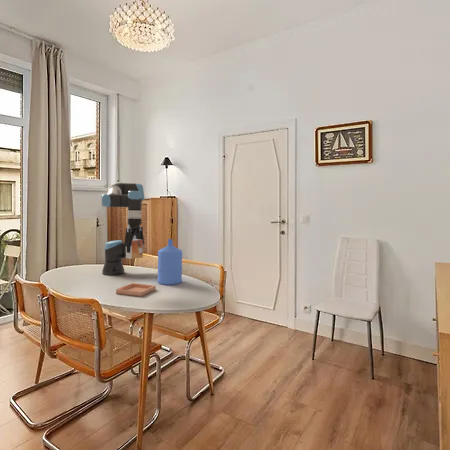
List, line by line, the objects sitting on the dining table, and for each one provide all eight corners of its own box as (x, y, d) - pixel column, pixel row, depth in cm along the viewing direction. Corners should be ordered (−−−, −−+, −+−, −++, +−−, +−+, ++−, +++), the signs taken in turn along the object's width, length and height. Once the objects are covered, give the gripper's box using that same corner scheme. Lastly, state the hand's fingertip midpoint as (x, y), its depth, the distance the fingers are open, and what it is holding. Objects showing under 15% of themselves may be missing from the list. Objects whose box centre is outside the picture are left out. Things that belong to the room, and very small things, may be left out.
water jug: (177, 285, 205) (177, 241, 203) (153, 284, 208) (154, 240, 206) (185, 280, 220) (185, 238, 218) (163, 278, 223) (163, 237, 222)
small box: (131, 259, 184) (131, 240, 183) (125, 258, 188) (125, 239, 187) (143, 257, 190) (143, 239, 190) (137, 256, 194) (137, 238, 193)
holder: (132, 287, 200) (132, 282, 199) (155, 289, 195) (155, 285, 195) (116, 293, 184) (116, 289, 184) (141, 296, 180) (141, 292, 179)
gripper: (129, 218, 176) (128, 260, 177) (150, 217, 197) (150, 254, 198) (117, 218, 178) (117, 259, 180) (139, 217, 199) (139, 254, 200)
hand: (134, 256), depth 189 cm, fingers closed on small box, 9 cm apart
